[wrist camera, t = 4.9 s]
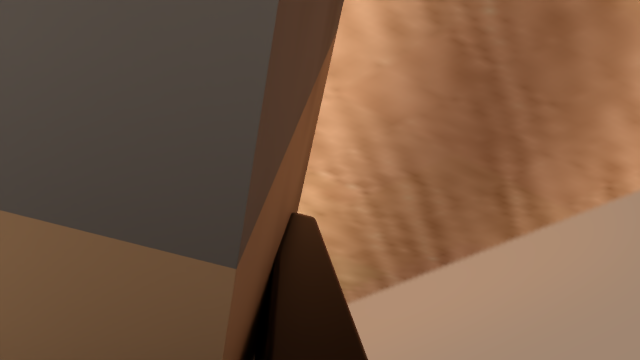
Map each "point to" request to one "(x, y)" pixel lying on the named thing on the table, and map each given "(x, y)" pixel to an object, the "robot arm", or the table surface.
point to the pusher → (151, 170)
